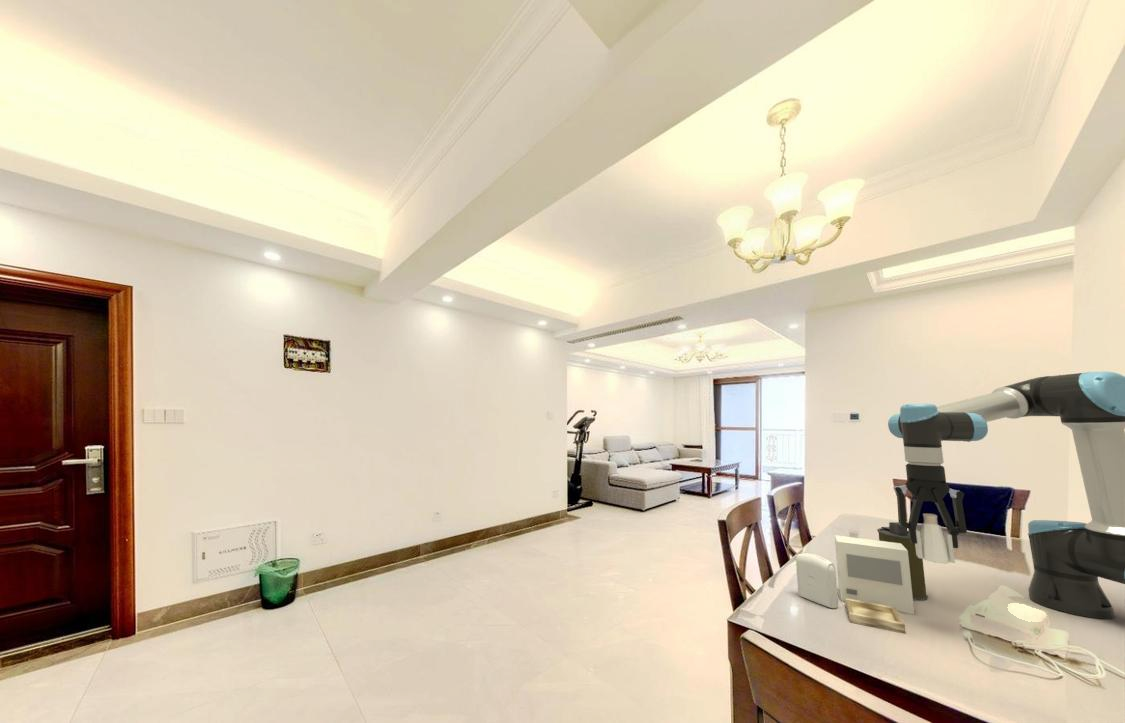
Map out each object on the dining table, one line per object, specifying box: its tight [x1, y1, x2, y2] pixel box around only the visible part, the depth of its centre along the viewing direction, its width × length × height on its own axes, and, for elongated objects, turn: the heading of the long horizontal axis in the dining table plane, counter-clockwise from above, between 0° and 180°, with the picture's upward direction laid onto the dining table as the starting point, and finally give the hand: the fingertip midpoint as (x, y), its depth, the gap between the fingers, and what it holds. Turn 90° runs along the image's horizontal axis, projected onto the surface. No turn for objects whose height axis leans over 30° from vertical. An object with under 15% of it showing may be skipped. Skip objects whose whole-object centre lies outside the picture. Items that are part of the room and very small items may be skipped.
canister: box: [877, 521, 929, 601], centre depth 124 cm, size 11×10×20 cm
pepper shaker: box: [920, 513, 951, 565], centre depth 103 cm, size 5×5×11 cm
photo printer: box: [795, 552, 839, 609], centre depth 116 cm, size 10×4×12 cm, turn 26°
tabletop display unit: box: [834, 534, 915, 615], centre depth 117 cm, size 16×9×16 cm, turn 61°
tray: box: [844, 598, 907, 635], centre depth 106 cm, size 11×11×2 cm
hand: (935, 558), depth 102 cm, fingers closed on pepper shaker, 5 cm apart
